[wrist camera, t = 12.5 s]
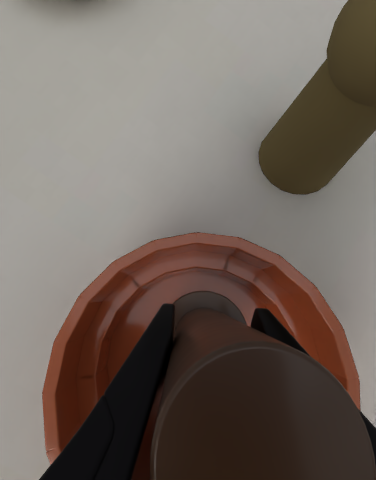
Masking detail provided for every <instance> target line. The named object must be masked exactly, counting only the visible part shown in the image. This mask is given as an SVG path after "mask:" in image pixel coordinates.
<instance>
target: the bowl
mask: <svg viewBox="0 0 376 480" xmlns="http://www.w3.org/2000/svg"><path fill="white" fill-rule="evenodd" d="M195 291H211V292H215V293H218V294H221V295H223V296H225V297H226V298H228V299H229V300H231V301H232V302H233V303H234V304H235V305H236V306H237V307H238V308H239V310H240V311H241V313H242V314H243V316H244V318H245V321H246V323H247V325H248V326H250V327H251V321H252V318H253V314H254V311H255V309H256V308H267V309H268V310H270V312H271V313H272V314H273V315H274V316H275V317H276V318H277V319H278V320H279V322H280V323H281V324H282V325H283V326H284V327H285V328H286V329H287V330H288V332H289V333H290V334H291V335H292V336H293V337H294V338H295V339H296V340H297V342H298V343H299V344H300V345H301V346H302V347H303V348H304V349H305V350H306V351H307V353H308V354H309V355H310V356H311V357H312V358H313V359H315V360H317V361H318V362H319V363H320V364H321V365H323V366H324V367H325V368H326V369H328V370H329V371H330V372H331V373H332V374H333V375H334V376H335V377H336V378H337V379H338V380H339V382H340V383H341V384H342V386H343V387H344V388H345V389H346V391H347V392H348V393H349V395H350V397H351V398H352V400H353V402H354V403H355V405H356V406H357V408H358V409H359V410H360V383H359V376H358V373H357V369H356V366H355V363H354V360H353V357H352V354H351V351H350V347H349V344H348V341H347V338H346V335H345V332H344V329H343V327H342V325H341V324H340V322H339V321H338V319H337V318H336V316H335V315H334V313H333V311H332V310H331V308H330V307H329V305H328V304H327V302H326V301H325V299H324V298H323V296H322V295H321V293H320V292H319V290H318V289H317V287H315V285H314V284H313V283H312V282H310V281H309V280H308V279H307V278H306V277H305V276H303V275H302V274H301V273H300V272H299V271H298V270H296V269H295V268H294V267H293V266H292V265H291V264H289V263H288V262H287V261H286V260H285V259H284V258H282V257H281V256H280V255H278V254H276V253H274V252H271V251H269V250H267V249H265V248H262V247H260V246H258V245H256V244H253V243H251V242H249V241H247V240H244V239H242V238H239V237H233V236H224V235H216V234H208V233H200V232H197V233H189V234H184V235H179V236H173V237H168V238H163V239H157V240H154V241H151V242H149V243H147V244H145V245H143V246H141V247H140V248H138V249H136V250H134V251H132V252H130V253H128V254H126V255H124V256H123V257H121V258H119V259H117V260H115V261H114V262H112V263H111V264H110V265H109V266H108V267H107V268H106V269H105V270H104V271H103V272H102V273H101V274H100V275H99V276H98V277H97V278H96V279H95V280H94V281H93V282H92V283H91V284H90V285H89V286H88V287H87V288H86V289H85V290H84V291H83V292H82V293H81V294H80V296H79V297H78V298H77V300H76V302H75V304H74V306H73V307H72V309H71V311H70V313H69V315H68V317H67V318H66V320H65V322H64V324H63V326H62V327H61V329H60V331H59V333H58V335H57V337H56V338H55V341H54V343H53V348H52V352H51V357H50V361H49V365H48V370H47V374H46V379H45V383H44V388H43V392H42V394H43V395H42V399H43V415H44V431H45V447H46V451H47V452H46V454H47V456H48V459H49V462H50V464H52V463H53V462H54V460H55V459H56V458H57V457H58V455H59V454H60V453H61V452H62V450H63V449H64V448H65V447H66V445H67V444H68V443H69V441H70V440H71V439H72V437H73V436H74V435H75V434H76V432H77V431H78V430H79V428H80V427H81V425H82V424H83V423H84V421H85V420H86V418H87V417H88V415H89V414H90V413H91V411H92V410H93V408H94V407H95V405H96V404H97V402H98V401H99V399H100V398H101V396H102V395H104V392H105V390H106V389H107V387H108V386H109V384H110V383H111V381H112V380H113V378H114V377H115V375H116V374H117V372H118V371H119V369H120V368H121V366H122V365H123V363H124V362H125V360H126V359H127V357H128V356H129V354H130V353H131V351H132V350H133V348H134V347H135V345H136V344H137V342H138V341H139V339H140V338H141V336H142V335H143V333H144V331H145V330H146V328H147V327H148V325H149V324H150V322H151V321H152V319H153V318H154V316H155V315H156V313H157V312H158V310H159V309H160V307H161V306H162V305H163V304H164V303H167V304H173V303H174V302H175V301H176V300H177V299H179V298H180V297H182V296H183V295H185V294H188V293H191V292H195Z"/></svg>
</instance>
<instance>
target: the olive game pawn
mask: <svg viewBox="0 0 376 480" xmlns="http://www.w3.org/2000/svg"><path fill="white" fill-rule="evenodd" d="M375 130H376V0H348V1H347V3H346V4H345V5H344V6H343V8H342V10H341V12H340V14H339V15H338V17H337V19H336V21H335V23H334V27H333V30H332V33H331V36H330V40H329V43H328V47H327V59H326V60H325V62H324V63H323V64H322V66H321V67H320V68H319V69H318V71H317V72H316V73H315V75H314V76H313V77H312V78H311V80H310V81H309V82H308V84H307V85H306V86H305V87H304V89H303V90H302V91H301V93H300V94H299V95H298V96H297V98H296V99H295V100H294V101H293V103H292V104H291V105H290V107H289V108H288V109H287V110H286V112H285V113H284V114H283V116H282V117H281V118H280V119H279V121H278V122H277V123H276V125H275V126H274V127H273V128H272V130H271V131H270V132H269V134H268V135H267V136H266V137H265V139H264V140H263V141H262V143H261V146H260V150H259V164H260V166H261V169H262V171H263V174H264V175H265V176H266V177H267V178H268V180H269V181H270V182H271V183H272V184H273V185H275V186H276V187H278V188H279V189H281V190H283V191H286V192H289V193H292V194H309V193H312V192H316V191H318V190H320V189H321V188H323V187H324V186H325V185H327V184H328V183H329V181H330V180H331V179H332V178H333V177H334V176H335V175H336V174H337V172H338V171H339V170H340V169H341V168H342V167H343V166H344V165H345V164H346V162H347V161H348V160H349V159H350V158H351V157H352V156H353V155H354V154H355V152H356V151H357V150H358V149H359V148H360V147H361V146H362V145H363V144H364V142H365V141H366V140H367V139H368V138H369V137H370V136H371V135H372V133H373V132H374V131H375Z"/></svg>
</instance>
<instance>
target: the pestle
mask: <svg viewBox="0 0 376 480" xmlns="http://www.w3.org/2000/svg"><path fill="white" fill-rule="evenodd" d="M173 304H174V305H175V323H174V338H173V346H172V351H171V354H170V359H169V363H168V368H167V373H166V377H165V382H164V386H163V391H162V396H161V400H160V405H159V409H158V414H157V419H156V423H155V428H154V432H153V438H152V444H151V453H150V479H151V480H376V465H375V457H374V452H373V448H372V444H371V440H370V437H369V434H368V431H367V428H366V425H365V423H364V421H363V419H362V417H361V415H360V412H359V410H358V408H357V406H356V405H355V403H354V402H353V400H352V398H351V397H350V395H349V393H348V392H347V391H346V389H345V388H344V387H343V386H342V384H341V383H340V382H339V380H338V379H337V378H336V377H335V376H334V375H333V374H332V373H331V372H330V371H329V370H328V369H326V368H325V367H324V366H323V365H321V364H320V363H319V362H318V361H317V360H315V359H313V358H312V357H310V356H308V355H307V354H305V353H303V352H301V351H299V350H297V349H295V348H293V347H291V346H289V345H287V344H285V343H283V342H281V341H279V340H277V339H274V338H272V337H270V336H268V335H266V334H264V333H262V332H260V331H258V330H256V329H254V328H252V327H250V326H248V325H247V323H246V321H245V318H244V316H243V314H242V313H241V311H240V310H239V308H238V307H237V306H236V305H235V304H234V303H233V302H232V301H231V300H229V299H228V298H226V297H225V296H223V295H221V294H218V293H215V292H211V291H195V292H191V293H188V294H185V295H183V296H182V297H180V298H179V299H177V300H176V301H175V302H174V303H173Z"/></svg>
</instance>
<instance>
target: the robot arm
mask: <svg viewBox="0 0 376 480" xmlns="http://www.w3.org/2000/svg"><path fill="white" fill-rule="evenodd" d="M174 323H175V305H174V304H167V303H164V304H163V305H162V306H161V307H160V309H159V310H158V312H157V313H156V315H155V316H154V318H153V319H152V321H151V322H150V324H149V325H148V327H147V328H146V330H145V331H144V333H143V335H142V336H141V338H140V339H139V341H138V342H137V344H136V345H135V347H134V348H133V350H132V351H131V353H130V354H129V356H128V357H127V359H126V360H125V362H124V363H123V365H122V366H121V368H120V369H119V371H118V372H117V374H116V375H115V377H114V378H113V380H112V381H111V383H110V384H109V386H108V387H107V389H106V390H105V392H104V395H102V396H101V398H100V399H99V401H98V402H97V404H96V405H95V407H94V408H93V410H92V411H91V413H90V414H89V415H88V417H87V418H86V420H85V421H84V423H83V424H82V425H81V427H80V428H79V430H78V431H77V432H76V434H75V435H74V436H73V437H72V439H71V440H70V441H69V443H68V444H67V445H66V447H65V448H64V449H63V450H62V452H61V453H60V454H59V455H58V457H57V458H56V459H55V460H54V462H53V463H52V464H51V465H50V467H49V468H48V469H47V470H46V472H45V473H44V474H43V475H42V477H41V478H40V479H39V480H151V479H150V453H151V444H152V438H153V432H154V428H155V423H156V419H157V414H158V409H159V405H160V400H161V396H162V391H163V386H164V382H165V377H166V373H167V368H168V363H169V359H170V354H171V351H172V346H173V338H174ZM251 327H252V328H254V329H256V330H258V331H260V332H262V333H264V334H266V335H268V336H270V337H272V338H274V339H277V340H279V341H281V342H283V343H285V344H287V345H289V346H291V347H293V348H295V349H297V350H299V351H301V352H303V353H305V354H307V355H308V356H310V355H309V354H308V353H307V351H306V350H305V349H304V348H303V347H302V346H301V345H300V344H299V343H298V342H297V340H296V339H295V338H294V337H293V336H292V335H291V334H290V333H289V332H288V330H287V329H286V328H285V327H284V326H283V325H282V324H281V323H280V322H279V320H278V319H277V318H276V317H275V316H274V315H273V314H272V313H271V312H270V310H268V309H267V308H256V309H255V311H254V314H253V318H252V321H251ZM310 357H311V356H310ZM358 410H359V409H358ZM359 412H360V415H361V417H362V419H363V421H364V423H365V425H366V428H367V431H368V434H369V437H370V440H371V444H372V448H373V452H374V457H375V465H376V428H375V427H374V426H373V424H372V423H371V422H370V421H369V420H368V419H367V418H366V417H365V416H364V415H363V414H362V412H361V411H360V410H359Z"/></svg>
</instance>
